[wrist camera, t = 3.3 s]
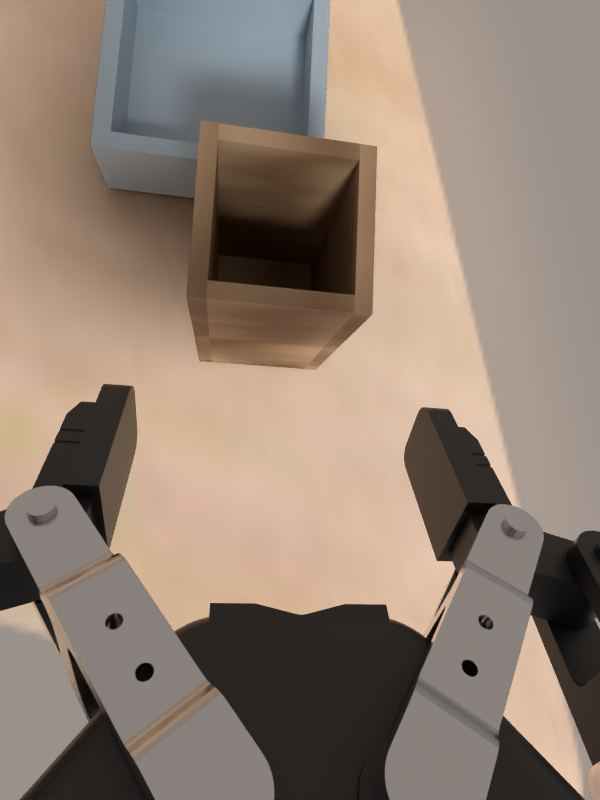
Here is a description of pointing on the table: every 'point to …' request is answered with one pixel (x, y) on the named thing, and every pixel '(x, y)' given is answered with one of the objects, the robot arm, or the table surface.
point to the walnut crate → (280, 245)
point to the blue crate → (202, 81)
